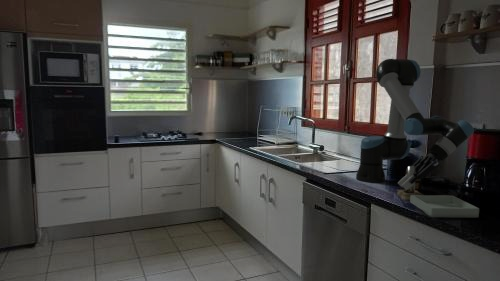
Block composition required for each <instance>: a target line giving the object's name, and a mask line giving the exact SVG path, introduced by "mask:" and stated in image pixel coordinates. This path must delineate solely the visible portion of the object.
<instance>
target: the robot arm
mask: <svg viewBox="0 0 500 281" xmlns="http://www.w3.org/2000/svg"><path fill="white" fill-rule="evenodd" d="M421 73H422V72H421V67H420V65H419V64H418V62H417V61H416V60H414V59H407V58H405V59H403V58H400V59H399V58H387V59H384V60H382V61H381V62H380V63H379V64H378V65H377V68H376V70H375V77H376V81H377V82H378V84H379V86H380V87H381V88H383V89H384V90H385V92H386V93H387V95H388V96H389V98H390V106H389V107H390V108H389V116H388V124H387V131H386V132H385V133H383V134H384V135H383V136H381V135H380V136H379V135H378V136H377V135H375V136H374V135H373V136H371V135H370V136H365V137H363V138H362V139H361V141H360V142H361V143H360V158H359V159H360V161H359V167H358V170H357V172H356V174H355V175H356V176H355V179H356V180H358V181H360V182H365V183H383V182H386V175H385V171H384V165H383V163H384V161H389V160H390V161H391V160H395V161H398V160H402V159H404V158H406V157H407V156H408V155H409V153H410V150H411V144H410V141H409V140H408V138H407V135H409V136H422V135H423V136H426V135H427V136H428V135H432V136H434V135H435V136H436V135H439V136H441V137H440V138H439V139H438V140H437V141H436V142H435V143H434V144H433V145H432V146H431V147H429V149H428V154H426V155H425V156H424V155H420V157H419V158H418V159H417V160H416V161H415V162H414V163H413V164H412V165H411V166H415V167H416V173H415V174H414V173H413V175H414V176H413V175H412V176H411V177H410V178H409V179H407V175H406V174H405V176H403V177H402V178H401V179H400V180H399V181H398V182H397V184H398V186H400V187H401V188H403V189H404V188H405V189H406V190H407V189H408V188H409V187H410V186H411V185H412V184H413V183H414V182H415V181H416V180H417V179H418V180H419V179H421V180H423V179H424V178H425V177H427V176H428V175H429V174H430V173H431V172H433V170H434V169H436V168H438V167H439V166H440V165H441V164H440V163H439V162H444V161H445V160H446V159H447V158H448V157H449V156H450V155H452V153H454V151H455V150H457V148H458V147H460V146H461V145H462V144H463V143H465V141H467V140H468V139H469V138H470V137H471V136H472V135H473V134H474V132H475V129H474V126H473V125H472V124H471V123H470V122H468V121H466V120H464V119H460V120H459V121H457V122H453V121H451V120H448V119H447V118H445V117H443V116H440V115H433V116H431V117H430V116H429V117H427V118H426V117H424V116H423V115H422V113H421V112H420V110H419V109H418V107H417V106H416V104H415V103H414V101H413V99H412V98H411V97H410V93H411V92H410V91H411V90H412V88H413V87H414V84H415V83H416V82H417V81H418V80H419V78H420V77H421ZM405 133H406V134H407V135H406V134H405Z"/></svg>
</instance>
